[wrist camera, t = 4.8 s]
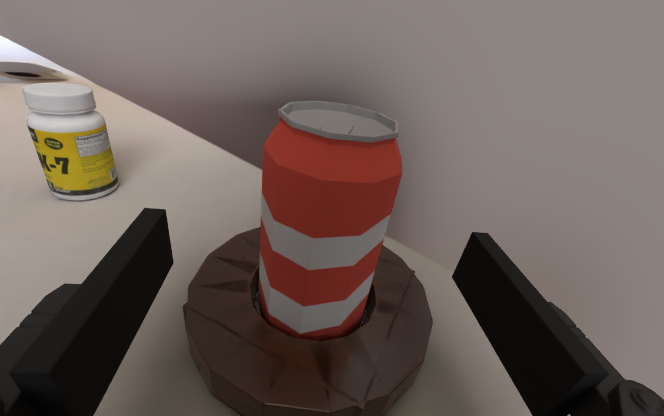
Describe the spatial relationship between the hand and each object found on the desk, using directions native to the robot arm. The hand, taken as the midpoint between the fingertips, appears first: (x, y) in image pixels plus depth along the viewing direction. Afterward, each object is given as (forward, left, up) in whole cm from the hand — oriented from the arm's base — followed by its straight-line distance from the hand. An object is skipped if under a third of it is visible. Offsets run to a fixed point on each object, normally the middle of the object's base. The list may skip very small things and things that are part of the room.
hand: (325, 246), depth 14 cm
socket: (+1, -2, -7) cm, 7 cm away
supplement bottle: (+24, -3, -7) cm, 25 cm away
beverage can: (+1, -2, -7) cm, 8 cm away
